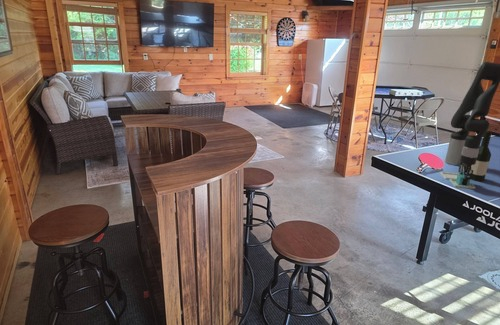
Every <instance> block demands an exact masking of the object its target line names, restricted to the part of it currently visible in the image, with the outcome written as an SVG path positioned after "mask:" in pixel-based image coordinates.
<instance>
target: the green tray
mask: <svg viewBox="0 0 500 325" xmlns="http://www.w3.org/2000/svg"><path fill="white" fill-rule="evenodd" d="M449 181H450V183H452V185H453V186H454V187H455V188H463V189H474V190H475V189H476V186H475V185H474V184H473V183H472V181H470V183H469V186H461V185H458V184H457V183H456V179H450V180H449Z"/></svg>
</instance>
